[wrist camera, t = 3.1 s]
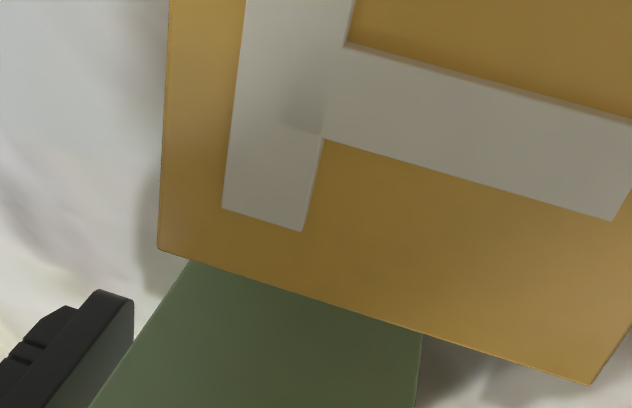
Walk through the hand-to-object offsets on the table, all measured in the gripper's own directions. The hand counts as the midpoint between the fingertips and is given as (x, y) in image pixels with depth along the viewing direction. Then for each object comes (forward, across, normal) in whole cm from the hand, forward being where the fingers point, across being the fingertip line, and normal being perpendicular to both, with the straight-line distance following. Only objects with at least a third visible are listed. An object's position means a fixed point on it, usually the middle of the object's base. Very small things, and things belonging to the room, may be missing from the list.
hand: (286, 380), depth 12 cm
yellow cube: (+1, -1, -8) cm, 8 cm away
